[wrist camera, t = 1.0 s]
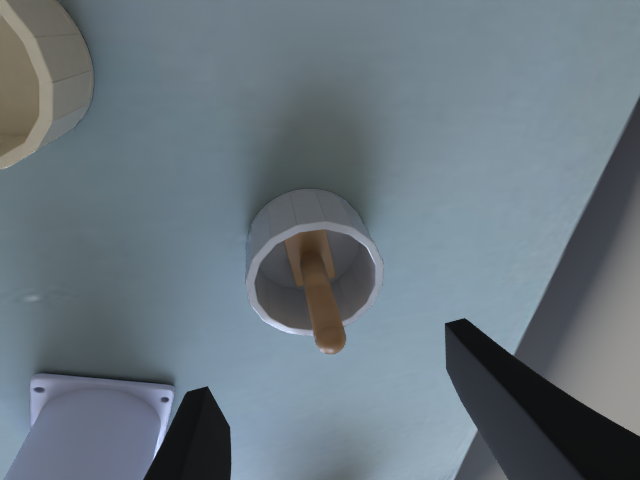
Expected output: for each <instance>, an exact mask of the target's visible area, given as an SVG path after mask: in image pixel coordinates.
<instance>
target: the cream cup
mask: <svg viewBox="0 0 640 480" xmlns="http://www.w3.org/2000/svg"><path fill="white" fill-rule="evenodd" d="M93 89H94V72H93V65H92V61H91V57H90V54H89V51H88V48H87V46H86V43H85V41H84V38H83V37H82V35H81V33H80V31H79V29H78V27H77V26H76V24H75V23H74V21H73V20H72V18H71V17H70V15H69V14H68V13H67V12H66V10H65V9H64V8H63V7H62V6H61V4H60V3H59V2H58V1H57V0H0V169H5V168H8V167H10V166H12V165H13V164H15V163H17V162H19V161H20V160H22V159H24V158H25V157H27V156H29V155H31V154H32V153H34V152H36V151H37V150H39V149H41V148H42V147H44V146H46V145H47V144H49V143H51V142H52V141H54V140H56V139H57V138H59V137H61V136H62V135H64V134H65V133H67V132H69V131H70V130H72V129H73V128H74V127H75V126H76V125H77V124H78V123H79V122H80V121H81V120H82V118H83V117H84V115H85V114H86V112H87V110H88V108H89V106H90V103H91V100H92V96H93Z"/></svg>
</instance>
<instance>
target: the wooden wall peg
mask: <svg viewBox="0 0 640 480" xmlns="http://www.w3.org/2000/svg"><path fill="white" fill-rule="evenodd" d="M283 242H284V245H285V249H286V252H287V256H288V259H289V263H290V266H291V270H292V273H293V277H294V280H295V284H296V286H297V287H299V286H303V285H304V288H305V293H306V298H307V303H308V308H309V313H310V318H311V323H312V328H313V333H314V338H315V343H316V345H317V347H318V348H319V350H321V351H322V352H323V353H326V354H336V353H338V352H339V351H341V350H342V349H343V347H344V345H345V343H346V334H345V331H344V327H343V324H342V321H341V317H340V314H339V311H338V307H337V304H336V301H335V297H334V294H333V291H332V288H331V284H330V281H329V279H330V278H334V277H336V274H335V269H334V264H333V259H332V255H331V250H330V245H329V241H328V236H327V231H326V229H322V230H314V231H307V232H299V233H297V234H296V235H294V236H292V237H290V238H288V239H286V240H284V241H283Z"/></svg>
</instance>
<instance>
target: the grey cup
mask: <svg viewBox="0 0 640 480" xmlns="http://www.w3.org/2000/svg"><path fill="white" fill-rule="evenodd" d="M322 229H326V231H327V236H328V241H329V245H330V250H331V255H332V259H333V264H334V269H335V274H336V277H334V278H330V279H329V281H330V284H331V288H332V291H333V294H334V297H335V301H336V304H337V307H338V311H339V314H340V317H341V321H342V324H343V327H344V326H347V325H349V324H351V323H353V322H355V321H356V320H357V319H358V318H359V317H361V316H362V315H363V314H364V313H365V312H366V311H367V310H368V309H369V308H370V307H371V306H372V305H373V304H374V302H375V300H376V298H377V296H378V294H379V292H380V290H381V288H382V286H383V271H384V263H383V260H382V258H381V256H380V254H379V252H378V249H377V247H376V245H375V243H374V241H373V240H372V238H371V236H370V234H369V232H368V231H367V229H366V227H365V225H364V223H363V222H362V220H361V218H360V216H359V214H358V213H357V211H356V210H355V209H354V208H353V207H352V206H351V205H350V204H349V203H348V202H347V201H346V200H344V199H343V198H342V197H340V196H338V195H336V194H334V193H331V192H328V191H325V190H320V189H299V190H294V191H290V192H287V193H284V194H282V195H280V196H278V197H276V198H275V199H273V200H271V201H270V202H269V203H267V204H266V205H265V206H264V207H263V208H262V209H261V210H260V211H259V212H258V214H257V215H256V217H255V218H254V220H253V222H252V224H251V226H250V229H249V233H248V239H247V244H246V274H245V284H246V289H247V294H248V299H249V303H250V305H251V306H252V308H253V309H254V310H255V311H256V313H257V314H258V315H259V316H260V318H261V319H262V320H263V321H264V322H265V323H267V324H269V325H271V326H273V327H275V328H277V329H279V330H281V331H283V332H285V333H292V334H299V335H306V336H308V335H309V336H311V335H314V333H313V328H312V323H311V318H310V313H309V308H308V303H307V298H306V293H305V288H304V285H303V286H299V287H297V286H296V284H295V280H294V277H293V273H292V270H291V266H290V263H289V259H288V256H287V252H286V249H285V245H284V242H283V241H284V240H286V239H288V238H290V237H292V236H294V235H296V234H297V233H299V232H307V231H314V230H322Z"/></svg>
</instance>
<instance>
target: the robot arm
mask: <svg viewBox="0 0 640 480" xmlns="http://www.w3.org/2000/svg"><path fill="white" fill-rule="evenodd" d="M445 343H446V369H447V372H448V374H449V376H450V378H451V381H452V383H453V385H454V387H455V389H456V391H457V393H458V395H459V398H460V400H461V402H462V403H463V405H464V407H465V408H466V410H467V412H468V414H469V415H470V417H471V419H472V420H473V422H474V424H475V425H476V427H477V429H478V430H479V432H480V433H481V435H482V437H483V438H484V440H485V442H486V443H487V445H488V446H489V448H490V450H491V451H492V453H493V455H494V456H495V458H496V460H497V461H498V463H499V465H500V466H501V468H502V470H503V471H504V473H505V475H506V476H507V478H508V480H640V436H638V435H636V434H634V433H633V432H631V431H629V430H627V429H625V428H624V427H622V426H620V425H618V424H616V423H615V422H612V421H611V420H609V419H608V418H606V417H604V416H603V415H601V414H599V413H597V412H596V411H594V410H592V409H591V408H589V407H587V406H586V405H584V404H583V403H581V402H579V401H578V400H576V399H575V398H573V397H571V396H570V395H568V394H567V393H565V392H564V391H562V390H561V389H559V388H558V387H556V386H555V385H553V384H552V383H550V382H549V381H547V380H546V379H545V378H543V377H542V376H540V375H539V374H537V373H536V372H535V371H533V370H532V369H530V368H529V367H528V366H526V365H525V364H524V363H522V362H521V361H519V360H518V359H516V358H515V357H514V356H513V355H511V354H510V353H509V352H507V351H506V350H505V349H503V348H502V347H501V346H500V345H498V344H497V343H496V342H494V341H493V340H492V339H491V338H489V337H488V336H487V335H486V334H484V333H483V332H482V331H481V330H479V329H478V328H477V327H476V326H474V325H473V324H472V323H471V322H470V321H468V320H467V319H465V318H464V319H460V320H456V321H452V322H449V323H445ZM174 394H175V388H174V387H173V386H171V385H166V384H155V383H144V382H133V381H122V380H111V379H100V378H89V377H78V376H67V375H56V374H45V373H38V374H35V375H34V376H33V377H32V379H31V381H30V427H31V430H30V432H29V434H28V436H27V437H26V439H25V441H24V443H23V445H22V447H21V449H20V450H19V452H18V454H17V456H16V458H15V460H14V462H13V463H12V465H11V467H10V469H9V471H8V473H7V474H6V476H5V478H4V480H230V477H231V439H230V426H229V424H228V423H227V421H226V419H225V417H224V415H223V413H222V412H221V410H220V408H219V406H218V404H217V403H216V401H215V399H214V397H213V395H212V393H211V392H210V390H209V388H208V386H207V387H203V388H199V389H196V390H192V391H188V392H187V393H186V394H185V396H184V398H183V400H182V402H181V404H180V406H179V408H178V411H177V413H176V415H175V417H174V419H173V421H172V423H171V425H170V427H169V430H168V432H167V434H166V436H165V433H166V428H167V424H168V420H169V415H170V411H171V407H172V403H173V398H174ZM164 437H165V438H164Z"/></svg>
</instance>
